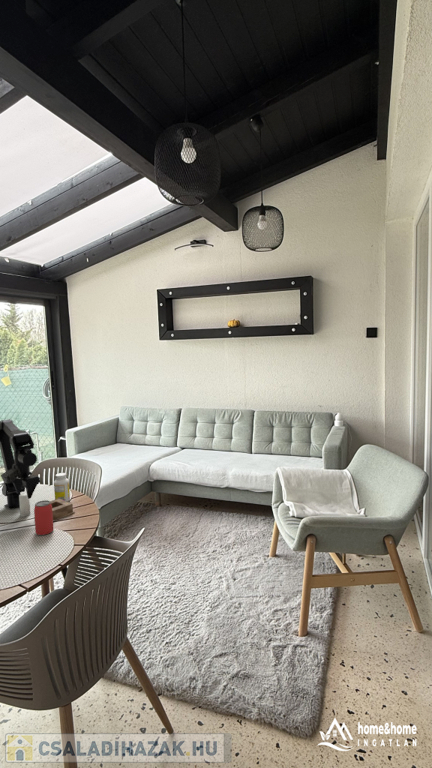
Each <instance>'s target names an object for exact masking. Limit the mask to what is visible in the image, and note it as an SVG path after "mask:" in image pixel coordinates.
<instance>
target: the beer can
mask: <svg viewBox="0 0 432 768" xmlns="http://www.w3.org/2000/svg"><path fill="white" fill-rule="evenodd" d="M50 501H51V500H45V499H44V500H40V501H37V502H36V503H35V505H34V509H33V513H34V514H33V515H34V527H35V534H36V535H38V536H47V535H50V534H51V533H53V532H54V521H53V513H52V505H51V503H50Z"/></svg>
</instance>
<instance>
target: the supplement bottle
mask: <svg viewBox="0 0 432 768" xmlns="http://www.w3.org/2000/svg"><path fill="white" fill-rule="evenodd" d="M69 482H70V481H69V479H68V478H67V473H66V472H59V473H57V474H55V480H54V482H53V489H54V490H53V491H54V500H55V499H58V498H59V499H62V500H64V501H67V502H69V501H70V499H71V497H70V495H71V494H70V483H69Z"/></svg>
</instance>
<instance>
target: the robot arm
mask: <svg viewBox="0 0 432 768" xmlns="http://www.w3.org/2000/svg"><path fill="white" fill-rule="evenodd" d="M34 445H35V443H34V440H33V438H32V436H31V435H30V434H29V432H28V431H26V430H21V429H20V428H19V427H18V426H17V425H16V424H15V423H14V421H13V419H11V418H10V419H1V420H0V454H1V458H2V462H3V467H4V472H3V473H1V474H0V477H1V479H2V481H3V484H2V487H1V493H2V495H4V497H6V502H7V504H4V507H5V508H8V509H9V510H12V509H16V508H18V507H19V508H20V502H19V495H20V494H22V493H24V492H25V493H27V497H28V499H29V500H31V498H32V496H33V494H34V492H35V490H36V488H37V486H38V485H39V484H40V483H41V477H39V476H38V475H35V474H33V473H32V471H30V467H32V466H34V465H35V464H36V463H37V461H38V456H37V455H36V453H34V452H33V451H32V450H33V449H35V446H34ZM32 474H33V475H32Z"/></svg>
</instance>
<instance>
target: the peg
mask: <svg viewBox="0 0 432 768" xmlns="http://www.w3.org/2000/svg"><path fill="white" fill-rule="evenodd" d="M30 500H31V499H28V497H27V492H25V493H24V492H22V493H21V494H20V495H19V502H20V506H19V513H20V515H19V516H20V517H28V516H30V515H31V503H30Z"/></svg>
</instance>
